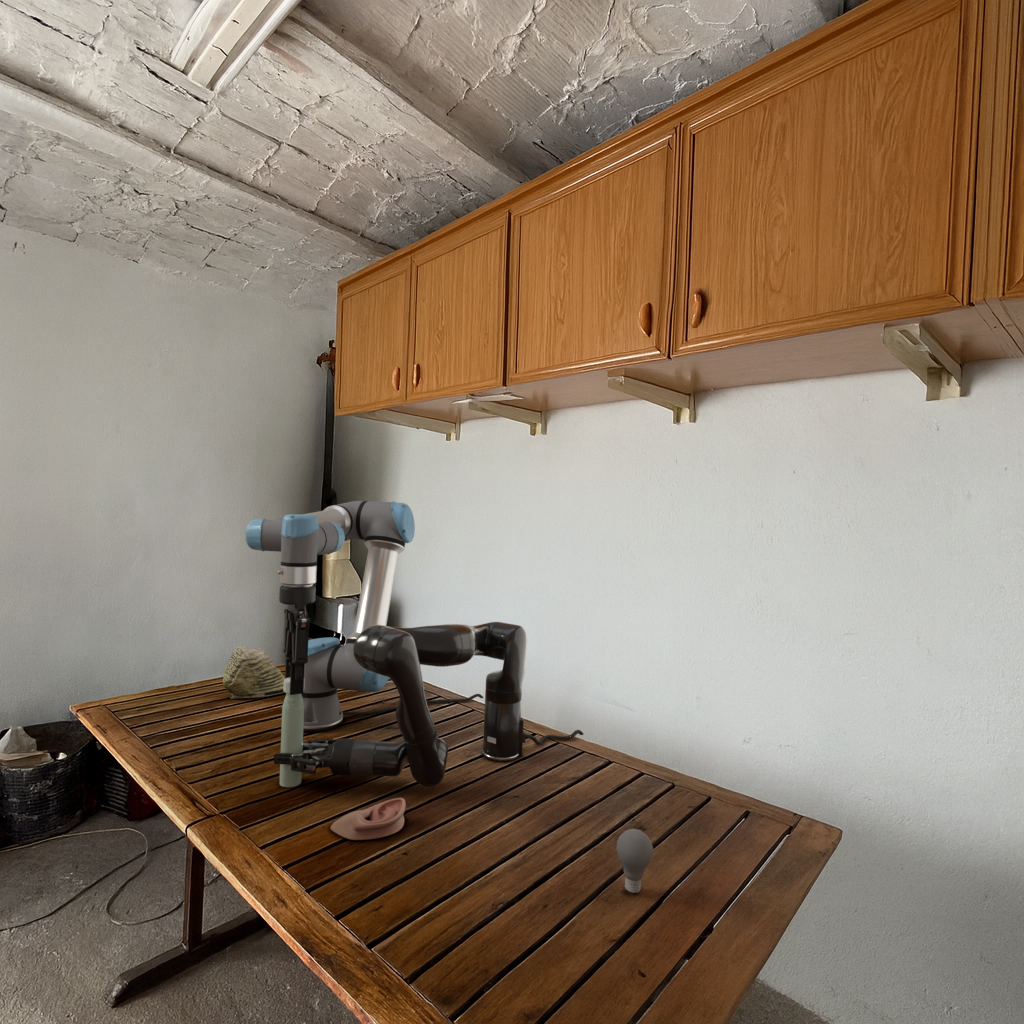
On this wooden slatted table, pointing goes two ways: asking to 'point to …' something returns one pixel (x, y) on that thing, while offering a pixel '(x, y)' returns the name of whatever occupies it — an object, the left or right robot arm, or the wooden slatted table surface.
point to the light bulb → (634, 857)
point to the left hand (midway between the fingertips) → (293, 690)
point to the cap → (288, 685)
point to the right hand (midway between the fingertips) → (279, 753)
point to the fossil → (252, 674)
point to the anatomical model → (372, 821)
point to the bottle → (291, 737)
